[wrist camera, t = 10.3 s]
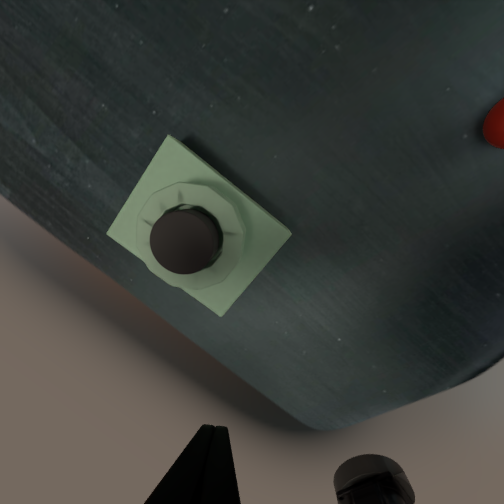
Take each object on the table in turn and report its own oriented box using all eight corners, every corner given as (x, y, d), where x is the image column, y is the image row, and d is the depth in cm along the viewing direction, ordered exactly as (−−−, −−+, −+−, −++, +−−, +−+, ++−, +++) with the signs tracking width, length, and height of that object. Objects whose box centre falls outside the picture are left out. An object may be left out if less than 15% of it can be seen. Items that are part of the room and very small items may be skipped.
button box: (289, 229, 18) (295, 239, 14) (226, 304, 20) (216, 331, 16) (180, 140, 17) (154, 126, 13) (123, 229, 19) (86, 239, 15)
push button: (231, 233, 15) (226, 239, 13) (197, 276, 16) (189, 287, 14) (182, 196, 14) (172, 196, 13) (151, 242, 15) (136, 248, 13)
